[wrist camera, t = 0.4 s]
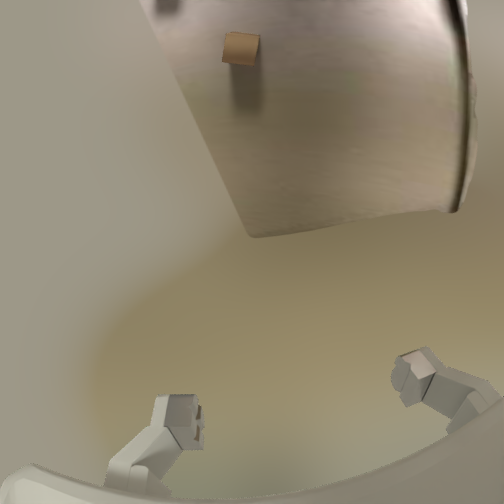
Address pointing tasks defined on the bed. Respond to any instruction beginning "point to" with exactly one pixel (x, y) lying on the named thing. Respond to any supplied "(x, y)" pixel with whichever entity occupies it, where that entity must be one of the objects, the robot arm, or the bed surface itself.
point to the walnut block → (240, 48)
